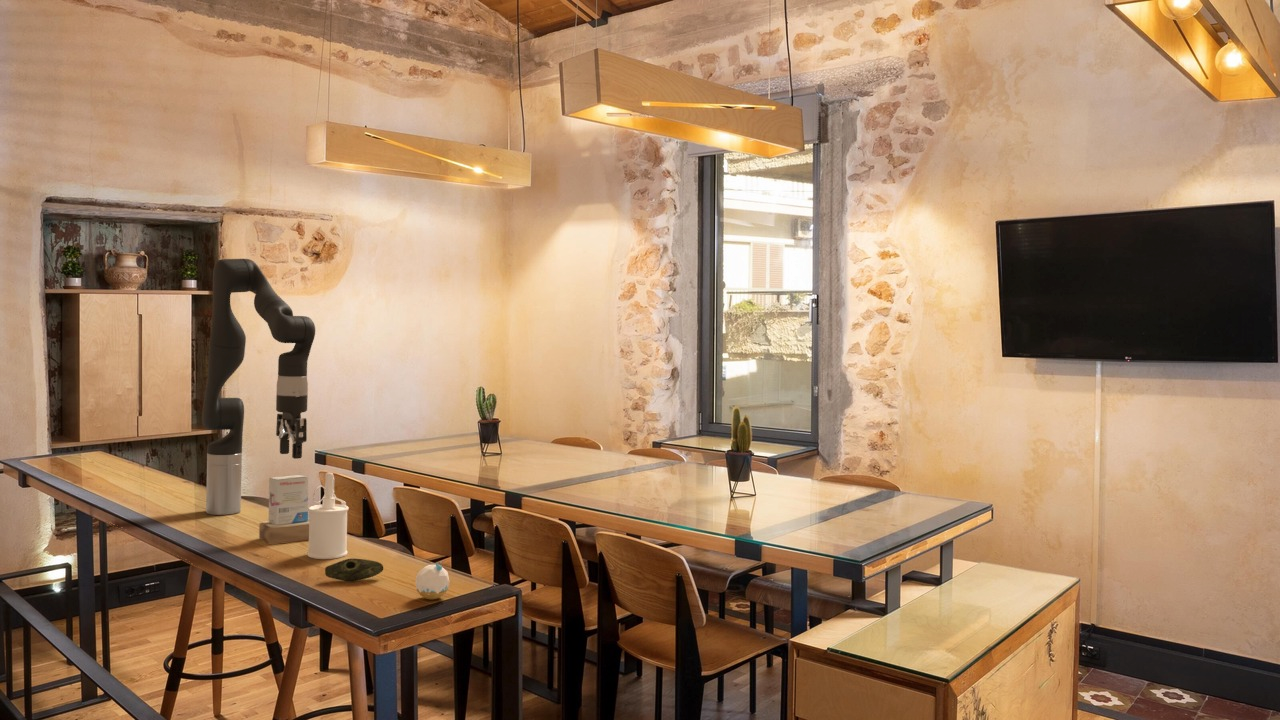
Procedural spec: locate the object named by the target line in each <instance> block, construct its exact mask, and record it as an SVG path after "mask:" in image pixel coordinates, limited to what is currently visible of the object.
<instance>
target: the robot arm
mask: <svg viewBox="0 0 1280 720" xmlns="http://www.w3.org/2000/svg"><path fill="white" fill-rule="evenodd" d="M212 272H213V273H212V316H211V327H210V328H211V329H210V337H209V347H208V359H207V360H208V363H207V365H208V366H207V378H206V384H205V385H206V387H205V390H204V391H205V392H204V398H203V403H202V410H201V411H202V414H201V420H202V421H201V422H202V426H203V427H204V429H205V430H207V431H208V430H209V431H222V430H224V431H225V430H226V431H227V430H229V431H228V433H227V434H226V435H225V436H223V437H222V438H219V439H216V440H214V441H212V442H210V443H208V444H207V447H206V449H207V451H206V452H207V453H206V497H205V498H206V499H205V500H206V501H205V513H206V514H208V515H213V516H214V515H215V516H216V515H217V516H223V515H224V516H225V515H232V514H233V515H234V514H238V513H241V508H242V473H243V471H242V469H243V468H242V467H243V466H242V465H243V464H242V463H243V462H242V461H243V457H242V456H243V431H244V420H245V405H244V402H243V399H241V398H240V397H219V396H220V394H221V390H222V389H223V387H224V386H225V384H226V383H227V381H228V380H229V378H231V376H233V375H234V373H235V372H236V371H237V369H239V367H240V366H241V364H243V361H244V358H245V355H246V354H245V353H246V352H245V351H246V342H247V340H246V339H247V337H246V333H245V331H244V328H243V327H242V325H241V324H240V322H239V321H238V319H237V317H236V316H235V314H234V313H233V310H232V306H231V295H232V294H233V293H247V292H251V293H253V294H254V295H255V296H254V299H253V307H254V309H255V311H256V312H257V314H258V316H260V317H261V319H263V321H264V322H265V323H267V326H268V328H269V331H270V334H271V337H272V338H273V339H274V340H275V341H277V342H278V343H282V344H294V346H293V348H292V350H290V351H286V352H283V353H280V354H279V356H278V361H277V362H278V363H277V381H276V393H275V394H276V395H275V396H276V398H275V399H276V400H275V403H276V404H275V405H276V407H275V410H276V412H278V413H277V414H276V427H275V428H276V429H275V430H276V431H275V432H276V433H275V435H276V437H278V439H279V454H281V455H287V454H289V453H290V438H291V441H292V444H291V445H292V446H291V448H292V451H291V453H292V455H291V457H292V459H295V460H296V459H302V456H303V444H304V443H305V442H307V432H308V430H307V425H308V423H307V422H308V421H307V418H304V417H303V418H302V416H301V415H302V413H306V412H307V411H308V394H309V393H308V390H309V388H308V386H309V382H308V361H309V357H310V353H311V349H312V346H313V343H314V340H315V337H316V325H315V322H314V321H313V319H312V318H310V317H309V316H305V315H294V313H293V309H292V308H291V306H290V305H289V304H288V303H287V302H285V300H284V299H282V297H280V296H279V295H278V294H277V292H276V291H275V290H274V289H273V287H272V285H271V284H270V282H269V281H268V279H267V277H266V276H265V274H264V272H263V271H262V269H261V268H260V267H259V265H258V264H257V263H256V262H255V261H254V260H252V259H248V258H222V259H218V260H217V261H216V262H215V264H214V266H213V270H212Z"/></svg>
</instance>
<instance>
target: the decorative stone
mask: <svg viewBox="0 0 1280 720" xmlns="http://www.w3.org/2000/svg"><path fill="white" fill-rule="evenodd" d="M324 568H325V569H324V575H325V576H326V577H328V578H331V579H334V580H339V581H344V582H348V583H351V582H358V581H362V580H365V579H369V578H373V577H375V576H378V575H380V574H381V573H382V572H383V571H384V565H383V563H382V562H379V561H377V560H376V561H375V560H370V559H364V558H347V559H343V560H341V561H337V562H335V563H331V564H329V565H328V566H326V567H324Z"/></svg>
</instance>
